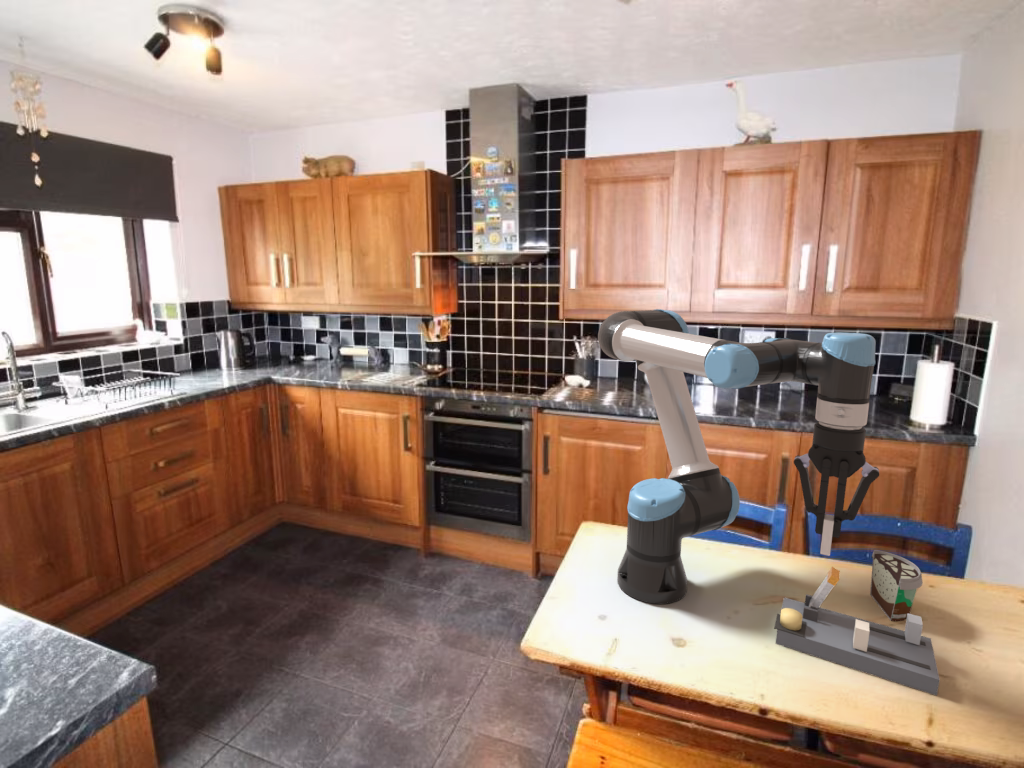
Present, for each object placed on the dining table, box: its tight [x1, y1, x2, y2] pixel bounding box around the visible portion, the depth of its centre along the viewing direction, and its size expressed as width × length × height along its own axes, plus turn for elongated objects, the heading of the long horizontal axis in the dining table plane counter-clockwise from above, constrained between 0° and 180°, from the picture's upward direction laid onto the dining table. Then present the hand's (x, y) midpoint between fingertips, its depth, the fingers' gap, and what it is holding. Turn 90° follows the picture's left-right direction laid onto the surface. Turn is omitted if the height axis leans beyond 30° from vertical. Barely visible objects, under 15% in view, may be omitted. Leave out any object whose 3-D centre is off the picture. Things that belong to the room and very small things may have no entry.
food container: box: [869, 549, 923, 623], centre depth 109 cm, size 12×6×10 cm, turn 168°
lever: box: [808, 566, 841, 610], centre depth 102 cm, size 1×4×10 cm, turn 148°
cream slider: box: [853, 619, 870, 652], centre depth 94 cm, size 2×3×4 cm
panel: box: [774, 593, 941, 696], centre depth 98 cm, size 24×12×5 cm, turn 58°
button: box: [780, 608, 803, 631], centre depth 100 cm, size 4×4×2 cm
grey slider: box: [904, 613, 924, 645], centre depth 96 cm, size 2×3×4 cm
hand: (825, 551), depth 95 cm, fingers closed
